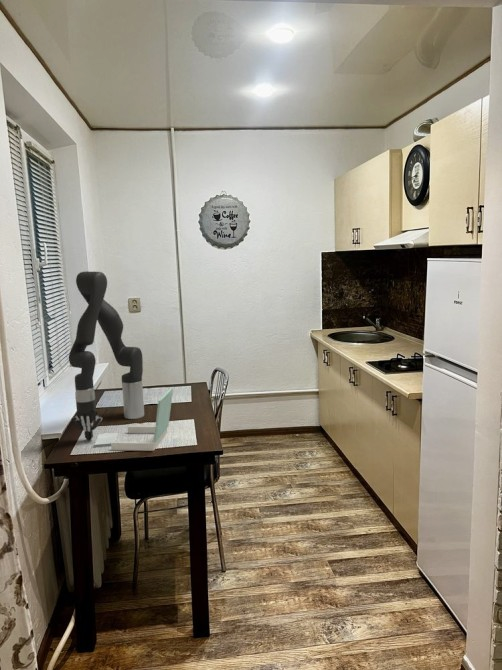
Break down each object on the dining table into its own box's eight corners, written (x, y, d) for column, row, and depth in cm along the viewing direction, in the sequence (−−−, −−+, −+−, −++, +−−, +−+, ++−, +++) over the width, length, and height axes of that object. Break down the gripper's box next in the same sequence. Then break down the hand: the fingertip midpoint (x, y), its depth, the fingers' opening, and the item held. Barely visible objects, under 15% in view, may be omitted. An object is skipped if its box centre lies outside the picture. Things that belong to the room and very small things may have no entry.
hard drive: (114, 443, 194) (118, 432, 206) (93, 444, 193) (98, 433, 205) (114, 447, 194) (118, 435, 206) (93, 448, 193) (98, 437, 205)
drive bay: (128, 432, 208) (128, 425, 208) (167, 432, 206) (167, 426, 206) (111, 450, 190) (111, 442, 189) (153, 450, 188) (153, 443, 187)
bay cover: (171, 387, 202) (173, 387, 202) (166, 425, 205) (168, 426, 205) (158, 400, 184) (160, 400, 184) (153, 442, 188) (155, 442, 188)
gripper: (104, 396, 200) (108, 436, 203) (74, 396, 202) (78, 435, 205) (97, 401, 193) (100, 442, 196) (65, 401, 195) (69, 442, 197)
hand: (89, 439), depth 200 cm, fingers closed
